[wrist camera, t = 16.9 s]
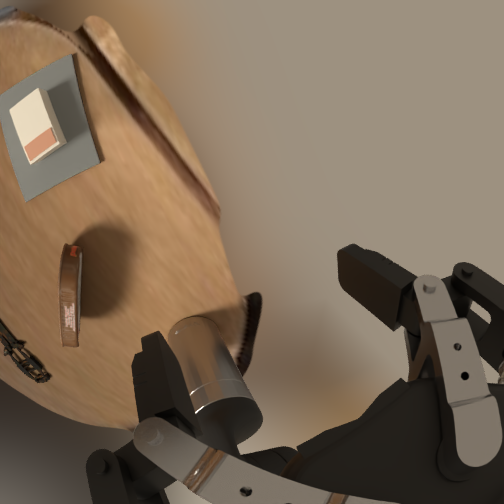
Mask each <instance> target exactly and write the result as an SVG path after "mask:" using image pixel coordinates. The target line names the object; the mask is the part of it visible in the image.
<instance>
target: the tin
mask: <svg viewBox="0 0 504 504" xmlns="http://www.w3.org/2000/svg"><path fill="white" fill-rule="evenodd" d="M82 262H83V249H82V247H80V246H74V245H68V244H65V245H64V247H63V251H62V255H61V260H60V267H59V277H58V309H59V326H60V338H61V344H62V346H63V347H64V346H67V347H79V342H78V336H79V331H80V303H81V281H82Z"/></svg>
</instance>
